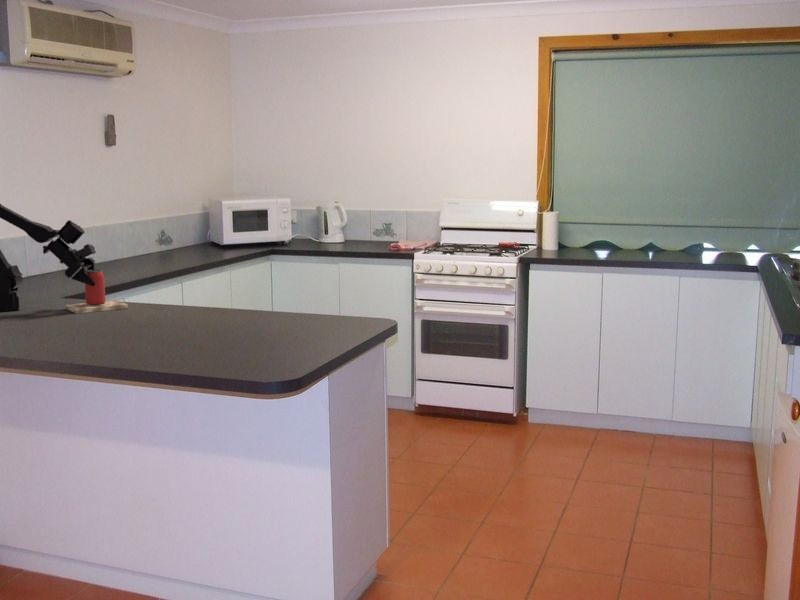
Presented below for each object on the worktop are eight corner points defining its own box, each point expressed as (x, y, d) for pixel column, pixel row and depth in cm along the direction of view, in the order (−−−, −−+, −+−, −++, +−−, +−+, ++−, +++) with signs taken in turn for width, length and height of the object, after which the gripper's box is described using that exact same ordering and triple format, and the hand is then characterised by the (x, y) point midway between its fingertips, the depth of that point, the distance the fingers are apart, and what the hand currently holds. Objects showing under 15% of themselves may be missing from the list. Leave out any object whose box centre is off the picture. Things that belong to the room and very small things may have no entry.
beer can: (83, 303, 304) (81, 270, 302) (101, 302, 308) (99, 269, 306) (89, 305, 299) (87, 271, 297) (108, 303, 303) (106, 270, 301)
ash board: (76, 313, 293) (76, 308, 293) (65, 309, 303) (65, 304, 303) (127, 308, 304) (127, 303, 304) (115, 304, 314) (115, 299, 314)
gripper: (72, 239, 290) (106, 270, 293) (87, 235, 309) (120, 265, 311) (50, 262, 291) (84, 293, 293) (67, 257, 309) (99, 286, 312)
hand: (98, 283), depth 302 cm, fingers open, 9 cm apart
